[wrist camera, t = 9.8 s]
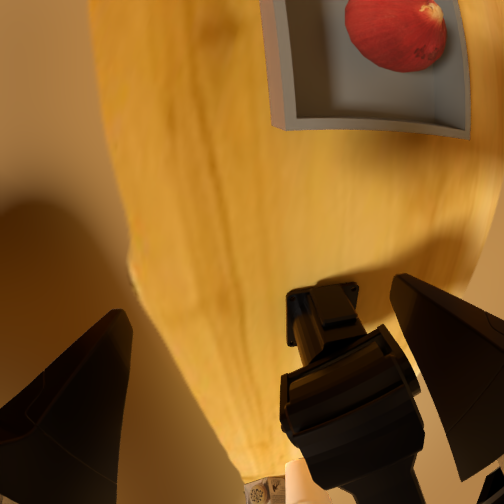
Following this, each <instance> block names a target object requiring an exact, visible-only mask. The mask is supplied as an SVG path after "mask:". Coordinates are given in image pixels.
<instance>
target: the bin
mask: <svg viewBox="0 0 504 504" xmlns="http://www.w3.org/2000/svg"><path fill="white" fill-rule="evenodd" d="M348 1H349V0H259V2H260V10H261V19H262V28H263V37H264V46H265V56H266V66H267V77H268V88H269V99H270V111H271V123H272V126H274V127H277V128H280V129H282V130H285V131H292V130H323V129H350V130H381V131H397V132H410V133H421V134H430V135H438V136H446V137H453V138H460V139H466V140H470V128H471V97H470V77H469V65H468V56H467V48H466V41H465V35H464V29H463V23H462V18H461V14H460V9H459V5H458V1H457V0H434V1H435V2H436V3H437V4H438V5H439V6H440V8H441V10H442V12H443V14H444V15H443V18H444V20H445V24H446V29H447V41H446V45H445V48H444V52H443V54H442V55H441V57H440V58H439V59H437V60H436V61H435V62H434V63H433V64H431V65H430V66H429V67H427V68H426V69H424V70H420V71H415V72H405V73H400V72H394V71H391V70H388V69H385V68H381V67H378V66H377V65H376V64H374V63H373V62H371V61H370V60H368V59H367V58H365V57H364V56H363V55H362V54H361V53H360V52H359V50H358V49H357V48H356V47H355V46H354V44H353V43H352V42H351V40H350V37H349V34H348V32H347V29H346V27H345V7H346V5H347V3H348Z"/></svg>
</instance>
